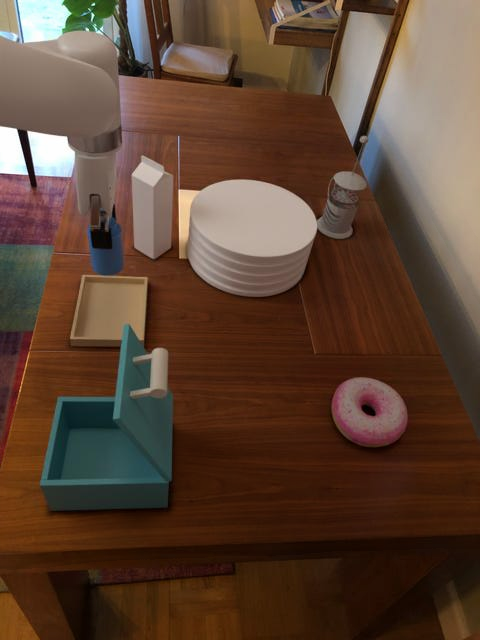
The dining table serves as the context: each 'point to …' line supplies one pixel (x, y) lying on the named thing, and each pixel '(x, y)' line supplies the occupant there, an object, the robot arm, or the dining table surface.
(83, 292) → the tray
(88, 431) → the teal wooden box
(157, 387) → the lid
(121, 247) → the bottle
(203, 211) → the plate stack
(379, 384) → the donut
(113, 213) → the robot arm
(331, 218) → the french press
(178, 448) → the dining table surface
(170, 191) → the milk
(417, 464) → the dining table surface
